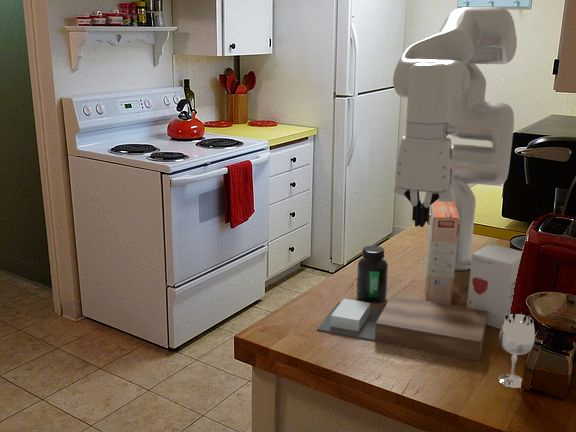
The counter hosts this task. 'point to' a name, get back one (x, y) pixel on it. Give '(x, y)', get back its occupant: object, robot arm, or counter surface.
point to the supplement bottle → (372, 275)
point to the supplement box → (493, 281)
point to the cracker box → (441, 252)
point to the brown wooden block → (432, 327)
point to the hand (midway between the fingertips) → (420, 224)
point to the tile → (350, 315)
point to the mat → (364, 333)
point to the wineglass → (516, 343)
